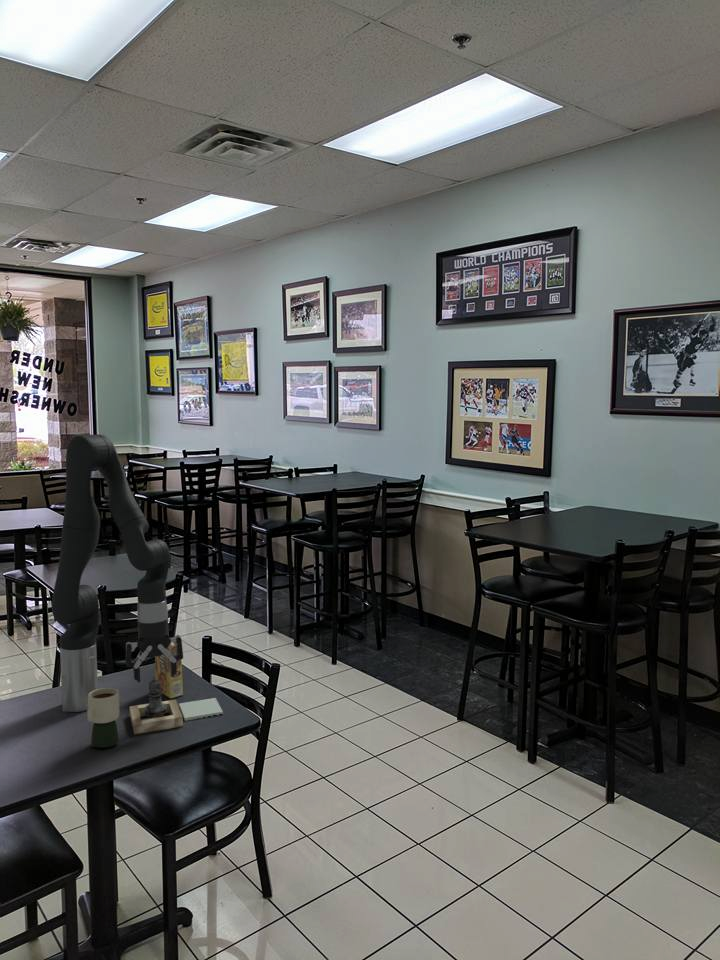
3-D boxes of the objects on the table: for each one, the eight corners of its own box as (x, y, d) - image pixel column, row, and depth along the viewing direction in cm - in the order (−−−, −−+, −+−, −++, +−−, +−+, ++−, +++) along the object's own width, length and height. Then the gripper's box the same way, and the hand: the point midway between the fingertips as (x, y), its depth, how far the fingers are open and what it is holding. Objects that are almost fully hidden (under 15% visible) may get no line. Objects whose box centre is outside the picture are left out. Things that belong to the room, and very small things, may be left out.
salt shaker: (160, 726, 182) (159, 681, 181) (139, 724, 183) (138, 679, 182) (171, 717, 188) (170, 673, 186) (151, 715, 189) (149, 671, 188)
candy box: (183, 695, 202) (182, 643, 201) (170, 699, 199) (168, 646, 198) (168, 686, 208) (166, 636, 207) (154, 690, 205) (153, 639, 204)
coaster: (184, 720, 185) (184, 717, 185) (179, 706, 194) (179, 703, 194) (222, 714, 189) (222, 711, 189) (215, 700, 198) (215, 697, 198)
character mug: (108, 732, 178) (106, 683, 177) (131, 737, 176) (130, 686, 175) (77, 752, 168) (75, 699, 167) (102, 757, 166) (100, 703, 164)
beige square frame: (134, 734, 177) (133, 724, 177) (129, 715, 188) (129, 706, 188) (182, 726, 182) (182, 716, 182) (175, 708, 193) (175, 699, 193)
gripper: (178, 610, 189) (181, 669, 190) (122, 617, 183) (125, 678, 185) (183, 617, 182) (185, 679, 183) (125, 625, 176) (128, 688, 178)
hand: (155, 678), depth 184 cm, fingers open, 8 cm apart
